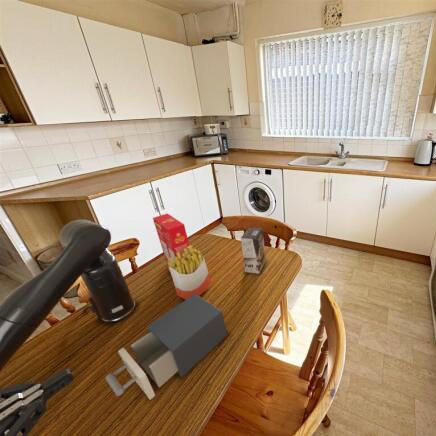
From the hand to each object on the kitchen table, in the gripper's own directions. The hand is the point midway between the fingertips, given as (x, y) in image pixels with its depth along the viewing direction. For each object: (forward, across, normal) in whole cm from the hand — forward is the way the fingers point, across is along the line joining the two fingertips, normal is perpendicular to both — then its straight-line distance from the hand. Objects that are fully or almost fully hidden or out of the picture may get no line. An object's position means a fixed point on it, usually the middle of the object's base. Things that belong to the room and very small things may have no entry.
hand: (71, 373), depth 45 cm
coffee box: (+59, -10, -16) cm, 62 cm away
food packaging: (+38, -30, -16) cm, 51 cm away
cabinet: (+22, 0, -16) cm, 27 cm away
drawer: (+13, 0, -15) cm, 19 cm away
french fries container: (+35, -17, -16) cm, 42 cm away
